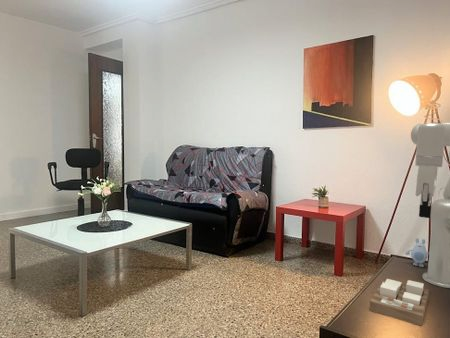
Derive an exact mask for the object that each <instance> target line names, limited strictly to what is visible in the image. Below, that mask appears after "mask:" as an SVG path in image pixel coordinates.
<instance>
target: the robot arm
mask: <svg viewBox="0 0 450 338" xmlns="http://www.w3.org/2000/svg"><path fill="white" fill-rule="evenodd" d="M410 140H411V142H412V143H413V144H414V145H416V152H415V166H416V167H418V170H417V175H416V186H415V196H416V197H418V196H420V204H419V208H418V209H419V211H418V212H419V213H418V217H420V218H424V219H425V218H427V219H430V223H431V225H430V227H431V229H430V230H431V231H430V232H431V233H430V241H429V251H428V253H429V254H428V263H427V264H428V265H427V272H424V273H422V279H423V280H424V281H425V282H426V283H429V284H431V285H433V286H437V287H439V288H445V289H446V288H447V289H450V177H449V178H448V180H447V183H446V185H445V187H444V189H443V193H442V197H443V198H439V199H436V200H434V201H433V202H432V198H434V195H435V191H436V186H437V180H438V170H439V168H442V167H443V161H444V151H445V148H444V147H450V122H441V123H438V122H437V123H436V122H435V123H429V122H428V123H418V124H416V125H414V126H413V127H412V130H411V131H410ZM448 155H449V157H448V161H449V162H450V150H449V153H448Z"/></svg>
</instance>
